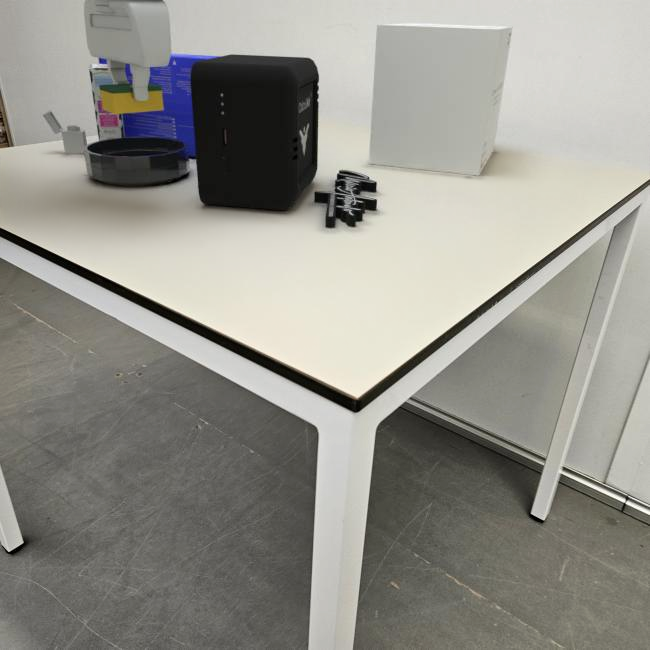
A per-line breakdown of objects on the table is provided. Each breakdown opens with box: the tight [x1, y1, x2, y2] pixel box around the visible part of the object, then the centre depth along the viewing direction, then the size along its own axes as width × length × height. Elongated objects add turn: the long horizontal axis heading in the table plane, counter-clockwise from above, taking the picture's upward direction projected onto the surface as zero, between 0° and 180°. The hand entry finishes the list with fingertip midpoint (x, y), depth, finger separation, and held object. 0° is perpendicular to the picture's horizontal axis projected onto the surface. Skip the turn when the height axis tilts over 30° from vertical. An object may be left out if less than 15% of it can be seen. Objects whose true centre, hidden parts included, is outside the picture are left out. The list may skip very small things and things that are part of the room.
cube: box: [368, 22, 513, 176], centre depth 120 cm, size 25×21×24 cm
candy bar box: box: [88, 63, 125, 141], centre depth 116 cm, size 11×5×16 cm, turn 18°
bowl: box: [83, 137, 191, 187], centre depth 105 cm, size 17×17×5 cm
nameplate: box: [313, 169, 378, 229], centre depth 95 cm, size 27×2×10 cm
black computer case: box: [190, 53, 320, 211], centre depth 93 cm, size 20×15×20 cm
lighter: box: [42, 110, 88, 155], centre depth 119 cm, size 7×2×8 cm, turn 96°
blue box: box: [97, 53, 222, 159], centre depth 119 cm, size 39×8×18 cm, turn 63°
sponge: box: [99, 83, 164, 114], centre depth 83 cm, size 7×5×3 cm, turn 129°
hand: (131, 97), depth 83 cm, fingers closed on sponge, 4 cm apart
